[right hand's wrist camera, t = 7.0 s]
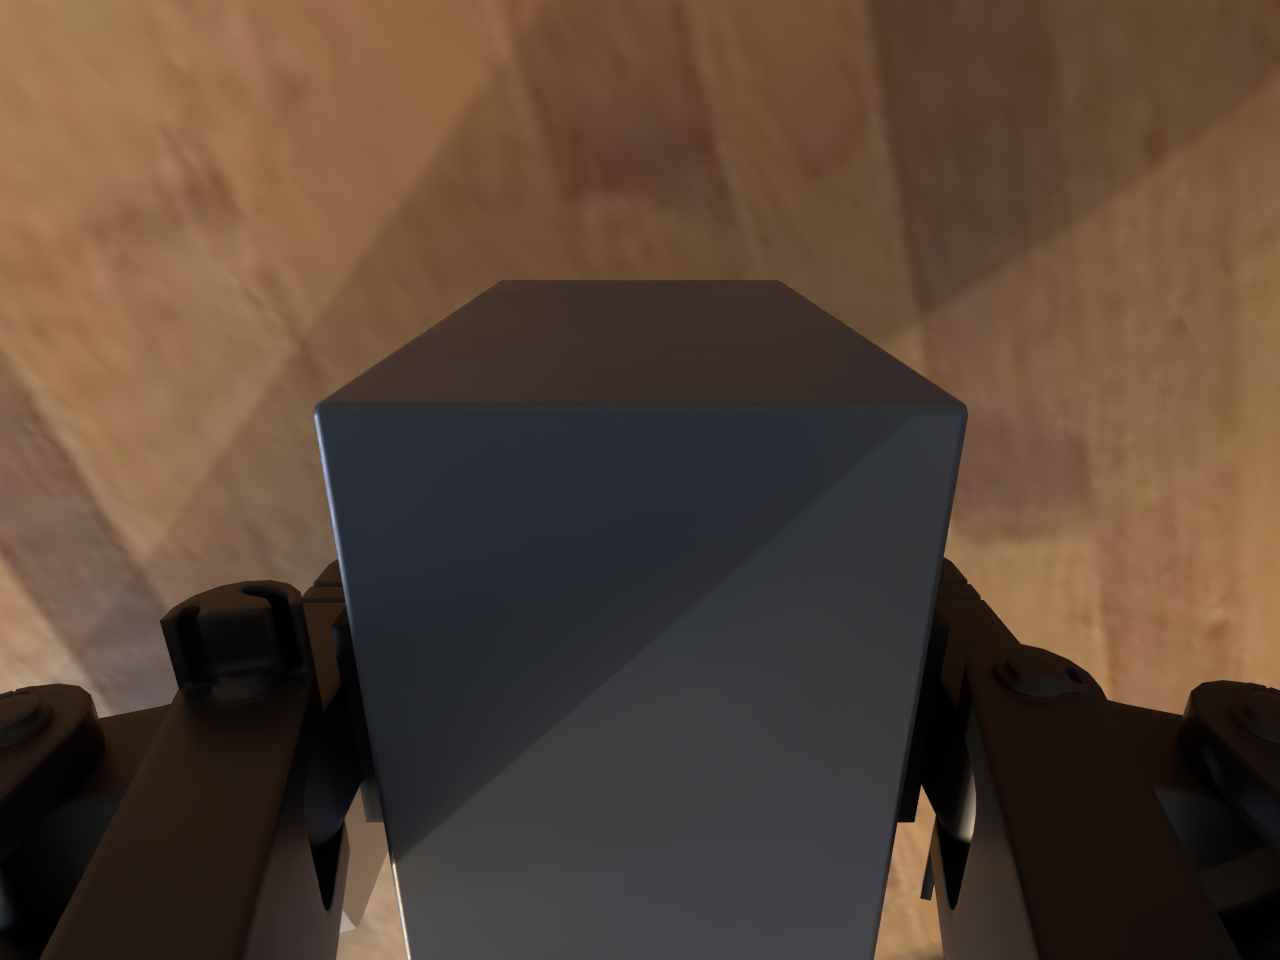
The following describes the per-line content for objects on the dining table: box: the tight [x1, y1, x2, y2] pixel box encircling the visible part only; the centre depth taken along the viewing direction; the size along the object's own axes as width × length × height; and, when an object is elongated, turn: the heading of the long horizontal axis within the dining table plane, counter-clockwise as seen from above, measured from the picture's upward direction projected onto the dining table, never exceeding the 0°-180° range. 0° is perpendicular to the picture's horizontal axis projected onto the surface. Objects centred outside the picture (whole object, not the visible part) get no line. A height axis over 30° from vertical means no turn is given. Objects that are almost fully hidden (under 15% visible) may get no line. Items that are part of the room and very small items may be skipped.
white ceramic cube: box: [339, 787, 388, 934], centre depth 30 cm, size 5×5×5 cm
